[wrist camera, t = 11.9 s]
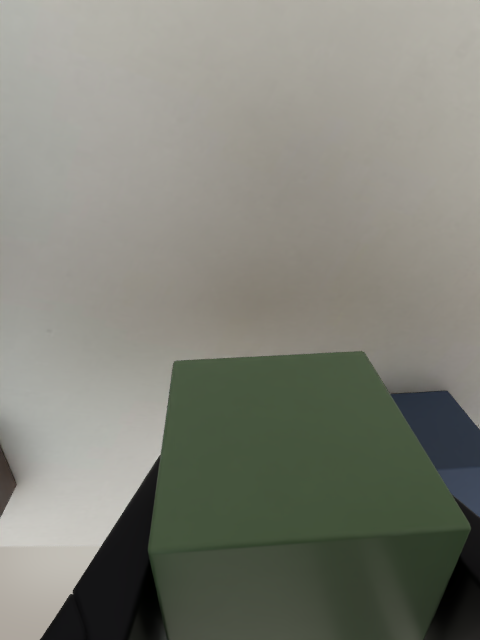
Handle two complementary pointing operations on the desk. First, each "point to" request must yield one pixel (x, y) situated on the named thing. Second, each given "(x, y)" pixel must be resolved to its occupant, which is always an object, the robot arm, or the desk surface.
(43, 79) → the desk surface
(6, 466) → the walnut block
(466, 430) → the blue block
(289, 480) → the green block
